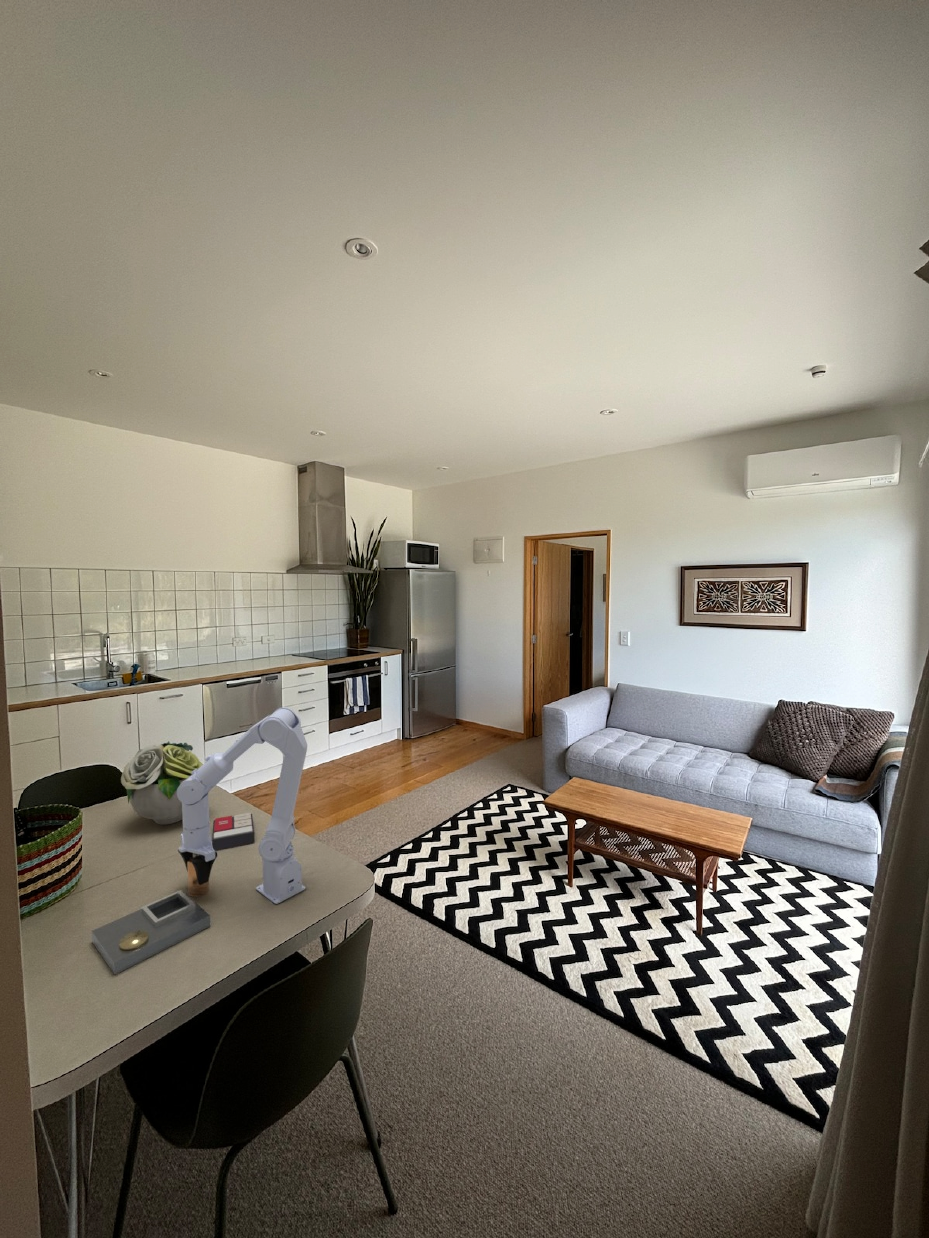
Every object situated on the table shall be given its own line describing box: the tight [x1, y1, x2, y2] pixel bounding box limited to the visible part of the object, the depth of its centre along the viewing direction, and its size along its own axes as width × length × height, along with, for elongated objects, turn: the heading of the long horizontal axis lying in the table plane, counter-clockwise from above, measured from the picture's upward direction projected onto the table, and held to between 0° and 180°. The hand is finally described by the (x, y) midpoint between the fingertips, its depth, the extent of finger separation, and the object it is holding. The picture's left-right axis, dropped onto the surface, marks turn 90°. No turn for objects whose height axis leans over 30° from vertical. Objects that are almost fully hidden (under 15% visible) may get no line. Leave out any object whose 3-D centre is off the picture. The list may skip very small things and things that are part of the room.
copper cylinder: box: [187, 853, 210, 898], centre depth 124 cm, size 4×4×10 cm
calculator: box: [211, 812, 256, 852], centre depth 152 cm, size 11×4×15 cm
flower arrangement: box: [120, 741, 204, 826], centre depth 161 cm, size 25×25×24 cm
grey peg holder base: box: [91, 889, 211, 976], centre depth 109 cm, size 14×18×4 cm
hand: (198, 878), depth 124 cm, fingers open, 5 cm apart
